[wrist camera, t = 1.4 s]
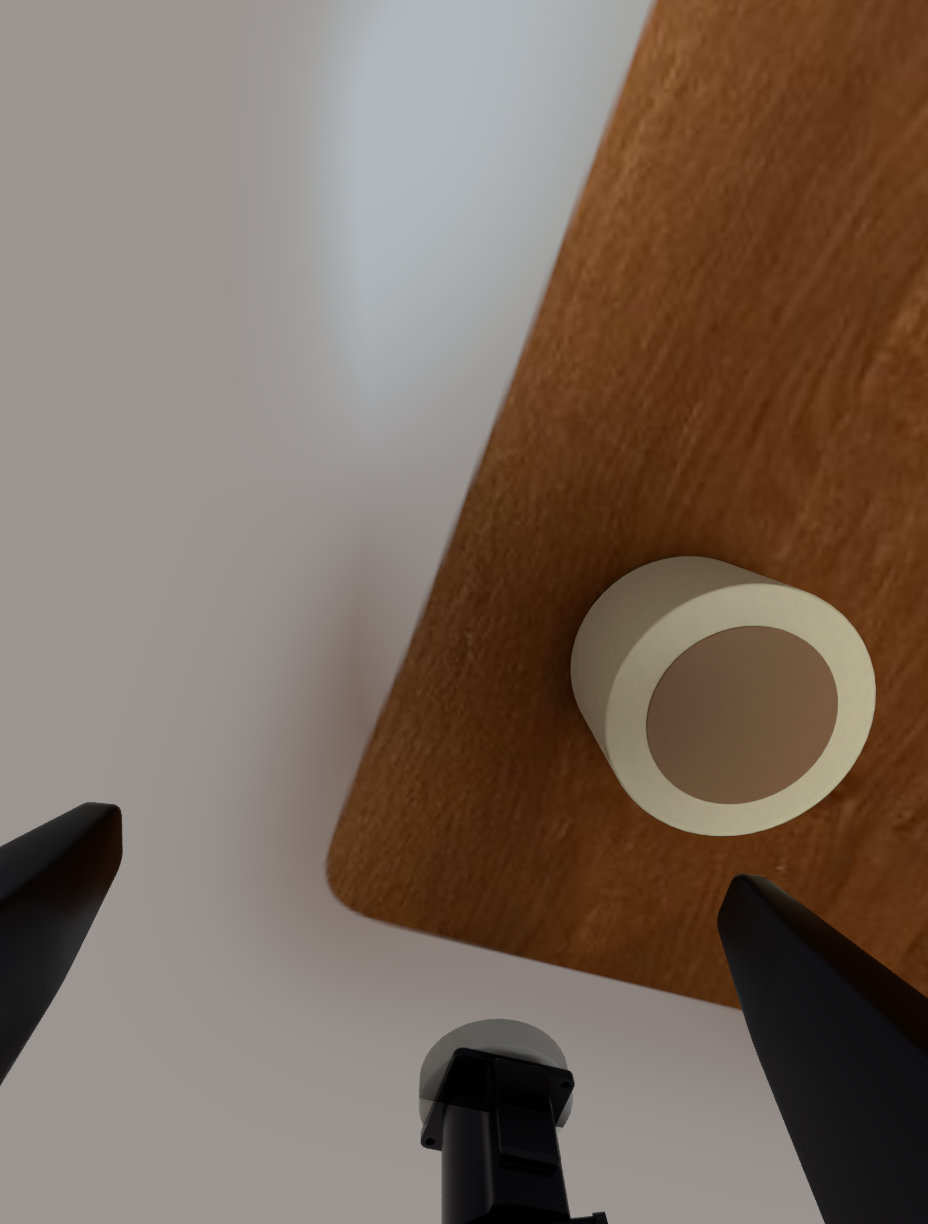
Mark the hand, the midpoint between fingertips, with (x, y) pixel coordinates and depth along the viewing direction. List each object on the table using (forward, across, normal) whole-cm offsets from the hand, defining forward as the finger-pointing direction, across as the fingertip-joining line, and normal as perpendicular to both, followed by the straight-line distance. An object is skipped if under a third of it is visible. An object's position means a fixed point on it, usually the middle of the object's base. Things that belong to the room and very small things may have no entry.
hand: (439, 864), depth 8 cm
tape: (+13, -9, +1) cm, 16 cm away
